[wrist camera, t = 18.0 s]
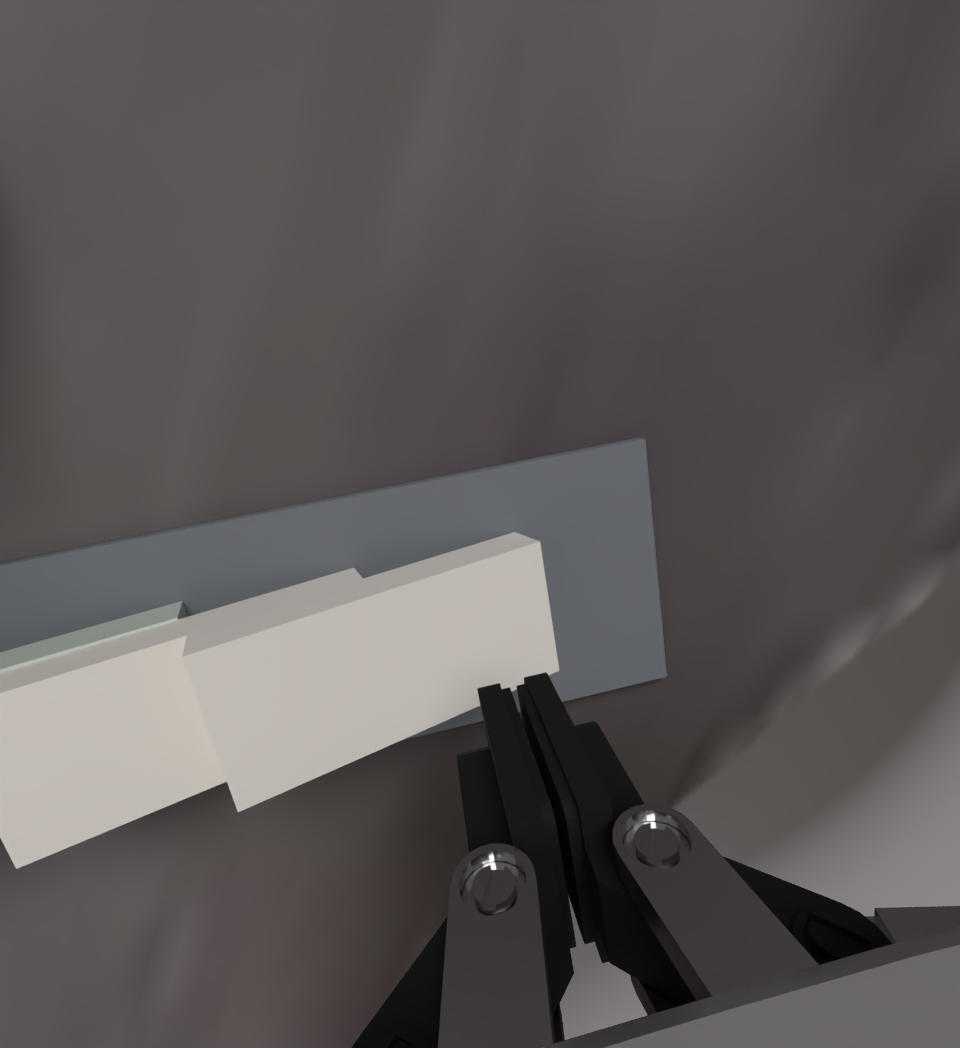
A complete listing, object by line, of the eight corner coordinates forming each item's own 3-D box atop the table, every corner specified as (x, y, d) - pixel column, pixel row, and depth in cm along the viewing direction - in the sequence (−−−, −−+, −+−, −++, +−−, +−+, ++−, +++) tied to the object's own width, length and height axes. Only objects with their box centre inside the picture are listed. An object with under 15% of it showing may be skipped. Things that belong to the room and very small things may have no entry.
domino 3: (540, 541, 18) (181, 657, 13) (559, 670, 19) (237, 812, 15) (514, 532, 19) (187, 632, 15) (534, 651, 20) (237, 774, 16)
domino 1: (177, 617, 16) (-334, 767, 12) (223, 749, 18) (-226, 925, 14) (182, 600, 18) (-268, 728, 14) (224, 722, 19) (-177, 872, 15)
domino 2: (364, 580, 17) (-64, 712, 13) (396, 710, 18) (16, 868, 14) (354, 567, 19) (-31, 681, 14) (383, 688, 20) (38, 824, 16)
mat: (638, 437, 20) (645, 438, 19) (660, 669, 22) (666, 676, 22) (-299, 621, 17) (-325, 629, 16) (-149, 863, 19) (-166, 877, 19)
